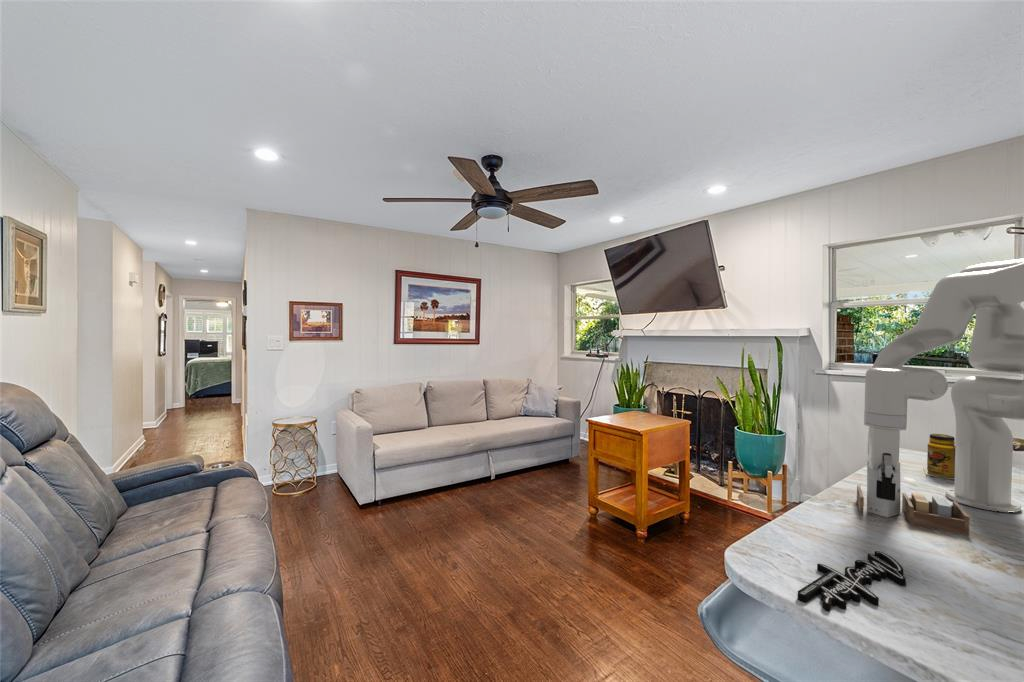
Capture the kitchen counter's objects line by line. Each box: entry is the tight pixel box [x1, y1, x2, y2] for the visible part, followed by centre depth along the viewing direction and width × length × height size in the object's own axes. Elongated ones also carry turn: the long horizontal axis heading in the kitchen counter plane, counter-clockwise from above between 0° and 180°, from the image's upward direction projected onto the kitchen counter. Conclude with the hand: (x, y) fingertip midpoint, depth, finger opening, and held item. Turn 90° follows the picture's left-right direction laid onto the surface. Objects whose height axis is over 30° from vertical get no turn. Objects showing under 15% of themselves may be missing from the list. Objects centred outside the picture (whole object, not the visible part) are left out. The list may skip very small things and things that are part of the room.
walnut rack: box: [856, 484, 970, 537], centre depth 97 cm, size 10×18×4 cm, turn 54°
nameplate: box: [797, 550, 907, 613], centre depth 72 cm, size 28×2×10 cm
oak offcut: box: [910, 492, 929, 513], centre depth 96 cm, size 6×2×5 cm, turn 144°
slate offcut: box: [931, 495, 951, 517], centre depth 94 cm, size 6×2×5 cm, turn 144°
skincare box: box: [866, 459, 901, 518], centre depth 100 cm, size 6×4×12 cm
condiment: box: [923, 433, 956, 480], centre depth 127 cm, size 7×8×12 cm
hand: (882, 492), depth 100 cm, fingers open, 9 cm apart
